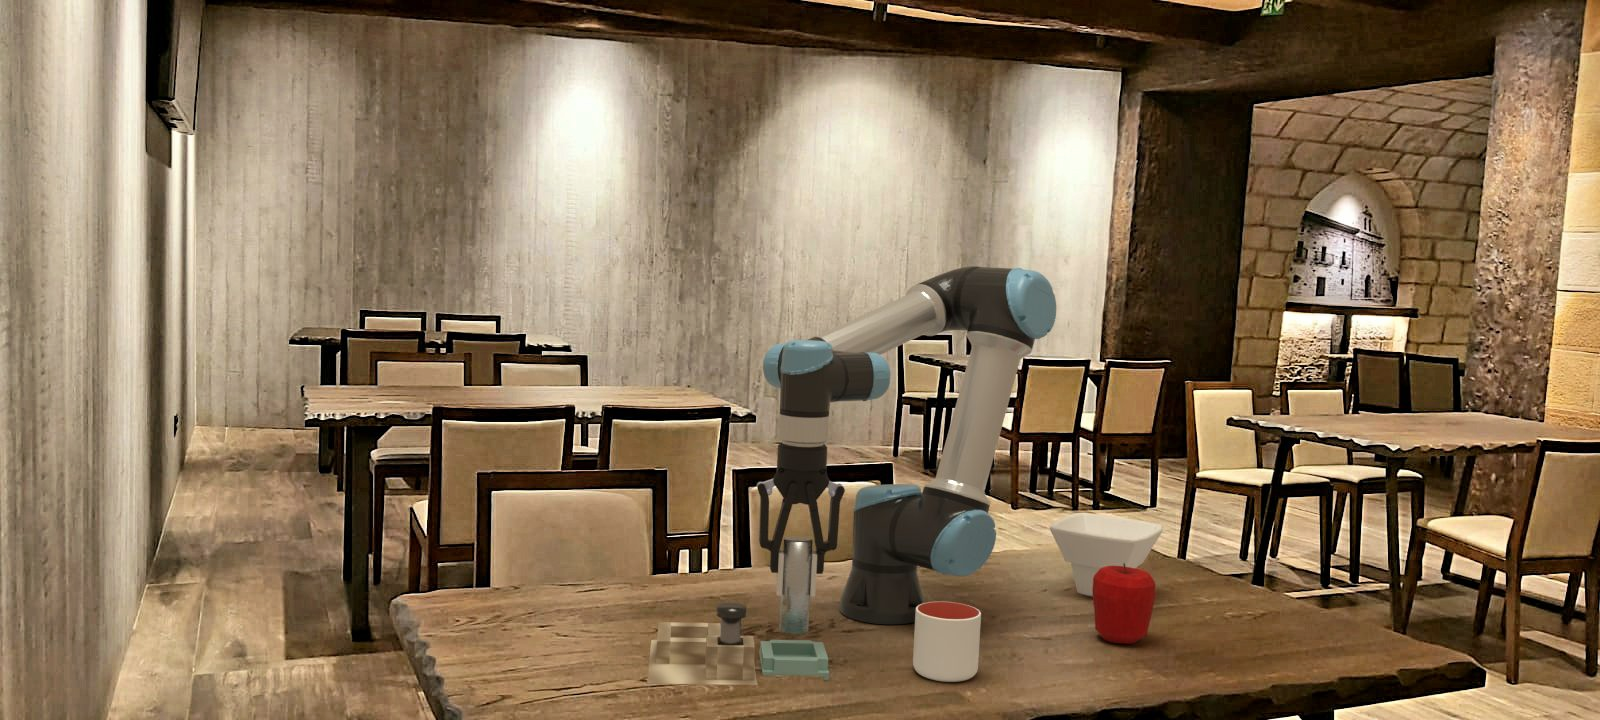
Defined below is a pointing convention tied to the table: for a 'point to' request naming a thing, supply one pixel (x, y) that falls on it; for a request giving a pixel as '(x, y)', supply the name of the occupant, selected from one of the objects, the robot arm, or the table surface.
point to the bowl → (1102, 544)
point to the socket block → (699, 656)
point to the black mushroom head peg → (731, 622)
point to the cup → (946, 641)
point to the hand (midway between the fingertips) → (795, 593)
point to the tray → (793, 658)
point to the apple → (1122, 603)
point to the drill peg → (796, 585)
